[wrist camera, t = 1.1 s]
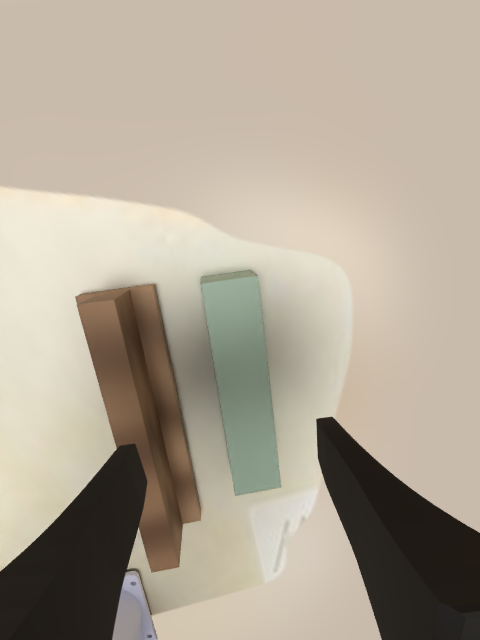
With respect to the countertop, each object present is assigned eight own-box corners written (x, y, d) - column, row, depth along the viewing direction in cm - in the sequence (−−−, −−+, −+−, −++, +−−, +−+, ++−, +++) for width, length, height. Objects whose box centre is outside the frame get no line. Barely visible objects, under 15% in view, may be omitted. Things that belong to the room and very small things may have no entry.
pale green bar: (271, 455, 26) (281, 487, 23) (231, 462, 26) (235, 495, 23) (250, 269, 22) (257, 275, 19) (201, 276, 22) (200, 283, 18)
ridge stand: (200, 510, 27) (199, 562, 22) (143, 521, 26) (130, 576, 22) (154, 283, 21) (141, 295, 17) (81, 294, 21) (48, 308, 17)
